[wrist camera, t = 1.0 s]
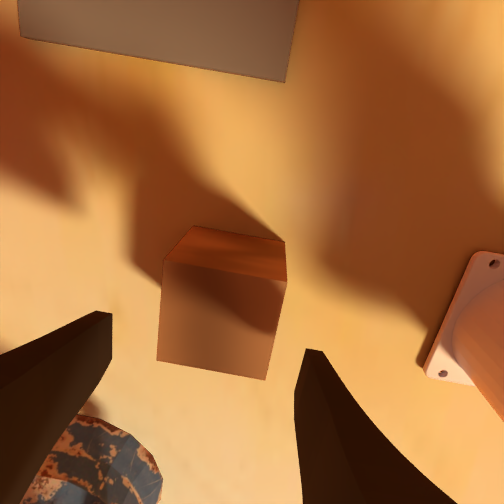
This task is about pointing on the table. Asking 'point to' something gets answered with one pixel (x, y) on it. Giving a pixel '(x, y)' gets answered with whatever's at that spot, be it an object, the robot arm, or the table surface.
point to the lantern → (96, 468)
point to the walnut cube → (221, 302)
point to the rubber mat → (173, 31)
